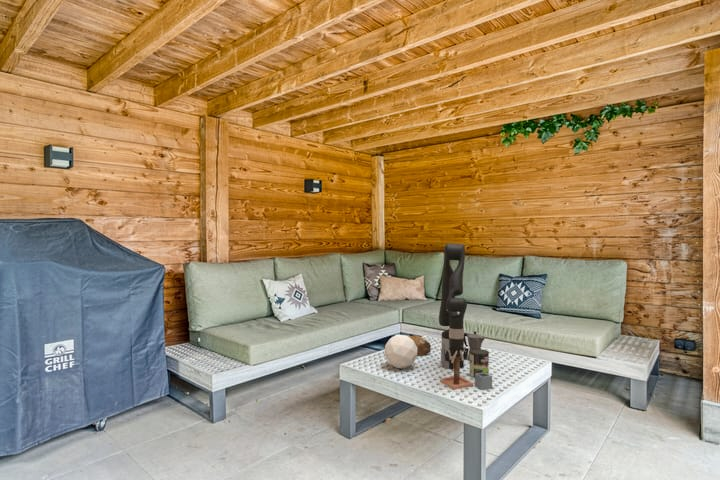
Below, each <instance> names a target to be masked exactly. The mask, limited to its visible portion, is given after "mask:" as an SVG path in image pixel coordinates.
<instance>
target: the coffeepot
mask: <svg viewBox="0 0 720 480" xmlns="http://www.w3.org/2000/svg"><path fill="white" fill-rule="evenodd" d="M466 337H467V340H466ZM484 340H486V338H485V337H484V336H483V335H481V334H477V331H476V330H475V331H473V334H470V333H466V332H464V346H465V347H466V348H468V349H469V351H470V350H471V349H482V344H483V341H484ZM467 343H468V344H467ZM469 351H468V357H467V361H469V362H470V352H469Z"/></svg>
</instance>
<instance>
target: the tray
mask: <svg viewBox="0 0 720 480" xmlns="http://www.w3.org/2000/svg"><path fill="white" fill-rule="evenodd" d="M439 382H440V383H441V384H443V385H445V386H446V387H448V388H449V389H452V390H458V389H465V388H470V387H474V382H472V381H470V380H468V379H466V378H465V377H463V376H461V375H460V384H454V375H453V376H448V377H443V378H441V377H440V378H439Z"/></svg>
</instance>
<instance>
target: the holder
mask: <svg viewBox="0 0 720 480" xmlns="http://www.w3.org/2000/svg"><path fill="white" fill-rule="evenodd" d="M474 386H475V387H476V388H477V389H480V390H481V391H485V390H489V389H493V376H492V375H491V374H487V373H485V372H483V373H477V374H475V378H474Z"/></svg>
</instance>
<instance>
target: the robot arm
mask: <svg viewBox="0 0 720 480" xmlns="http://www.w3.org/2000/svg"><path fill="white" fill-rule="evenodd" d="M443 250H444V252H443V273H442V282H441V300H440V308H439V311H438V312H439V314H438V322H439V325H440V326H441V327H449V328H448V329H446V330H443V331H442V332H441V349H440V365H441V367H442V368H444V369H449V370H451V371H454V359H455V357H456V356H460V370H461V369H463V368H464V366H465V364H464V363H465V361H466V360H467V361H468V354H469V349H470V348H469V347H467V346H465V344H464V333H465V332H464V321H465V320H464V319H465V315H466V310H467V307H468V303H467V300H466V298H462V297H458V296H462V295H463V293H464V286H463V285H464V282H463V281H464V280H463V279H464V270H465V261H466V260H465V259H466V257H465V255H466V248H465V245H464V244H463V243H462V244H461V243H447V244H445V245H444V248H443ZM450 261H458V262H457V263H458V264H457V266H456V268H455V269H454V270H453V268H452V265H451V262H450ZM464 346H465V347H464Z"/></svg>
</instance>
